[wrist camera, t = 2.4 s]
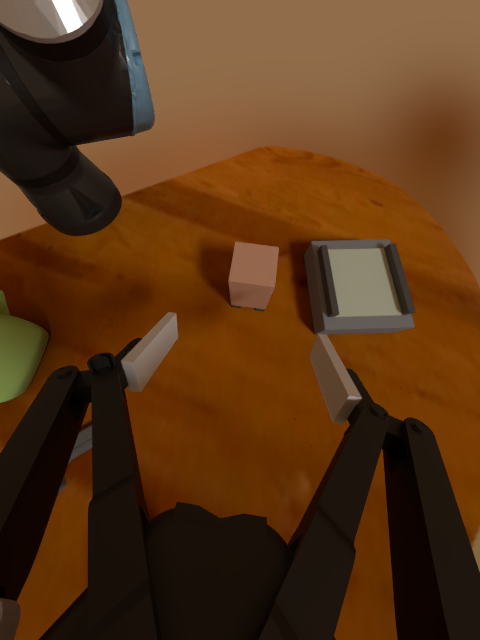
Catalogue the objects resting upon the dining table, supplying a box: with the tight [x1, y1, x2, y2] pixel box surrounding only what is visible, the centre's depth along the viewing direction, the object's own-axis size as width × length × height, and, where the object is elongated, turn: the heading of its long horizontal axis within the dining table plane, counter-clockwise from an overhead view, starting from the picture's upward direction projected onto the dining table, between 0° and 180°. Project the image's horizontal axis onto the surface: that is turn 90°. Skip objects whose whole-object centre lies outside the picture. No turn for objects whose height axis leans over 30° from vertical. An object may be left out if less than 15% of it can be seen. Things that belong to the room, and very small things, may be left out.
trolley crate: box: [229, 242, 279, 311], centre depth 29 cm, size 6×6×10 cm
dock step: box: [304, 239, 415, 335], centre depth 31 cm, size 16×14×6 cm
